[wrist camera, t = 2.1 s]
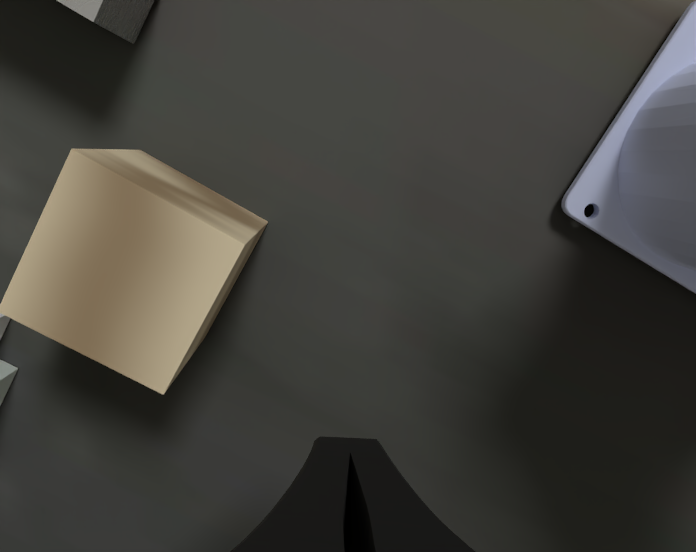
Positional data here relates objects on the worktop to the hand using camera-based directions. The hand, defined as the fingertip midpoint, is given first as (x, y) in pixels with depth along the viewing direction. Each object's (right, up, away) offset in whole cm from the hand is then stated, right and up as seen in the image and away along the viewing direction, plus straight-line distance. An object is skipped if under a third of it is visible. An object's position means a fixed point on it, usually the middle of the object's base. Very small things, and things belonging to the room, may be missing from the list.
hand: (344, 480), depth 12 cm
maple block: (-6, +5, +8) cm, 11 cm away
